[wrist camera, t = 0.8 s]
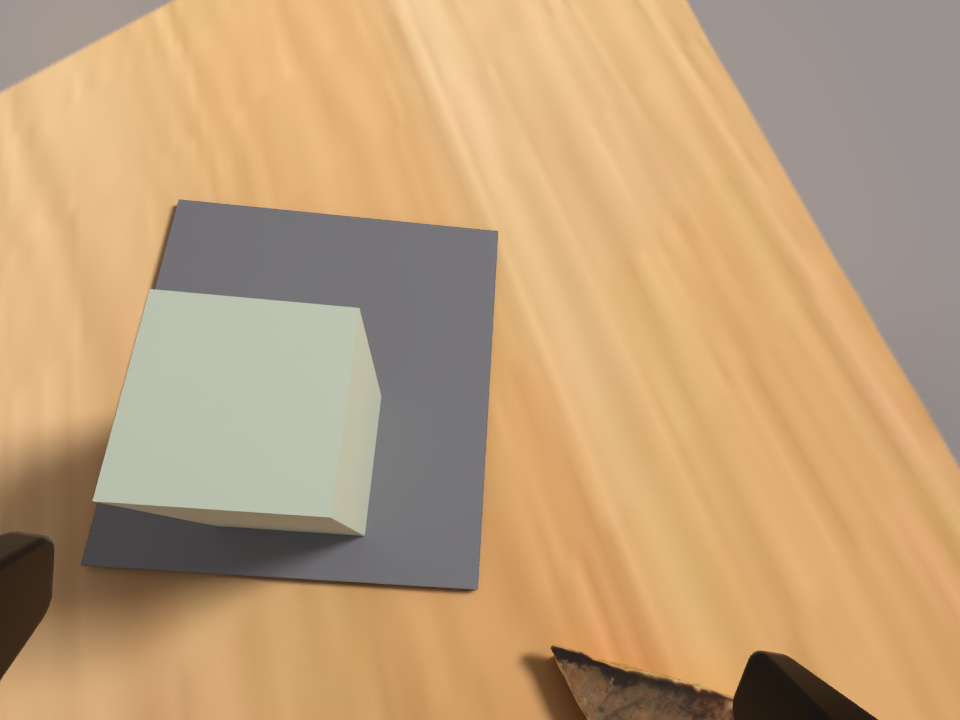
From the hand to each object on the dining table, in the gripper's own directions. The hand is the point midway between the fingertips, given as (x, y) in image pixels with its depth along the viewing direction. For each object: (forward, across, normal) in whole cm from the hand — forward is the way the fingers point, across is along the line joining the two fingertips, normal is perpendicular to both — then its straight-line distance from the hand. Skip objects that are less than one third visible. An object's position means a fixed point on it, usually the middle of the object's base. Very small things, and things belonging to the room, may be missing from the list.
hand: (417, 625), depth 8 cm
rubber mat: (+15, +4, +2) cm, 16 cm away
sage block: (+13, +4, +4) cm, 15 cm away
